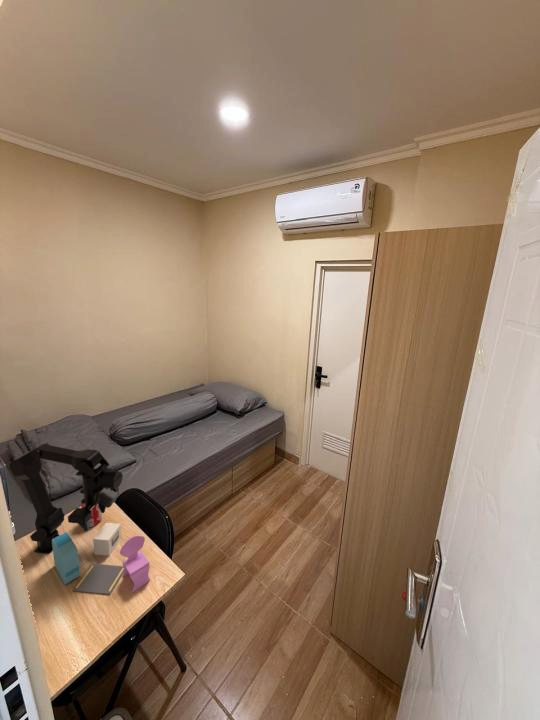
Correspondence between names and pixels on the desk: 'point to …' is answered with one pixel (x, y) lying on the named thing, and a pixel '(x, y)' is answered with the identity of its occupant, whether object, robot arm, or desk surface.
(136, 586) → the toy chair
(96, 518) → the soda can
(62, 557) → the data package
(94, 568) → the mat
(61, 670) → the desk surface
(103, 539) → the white box
